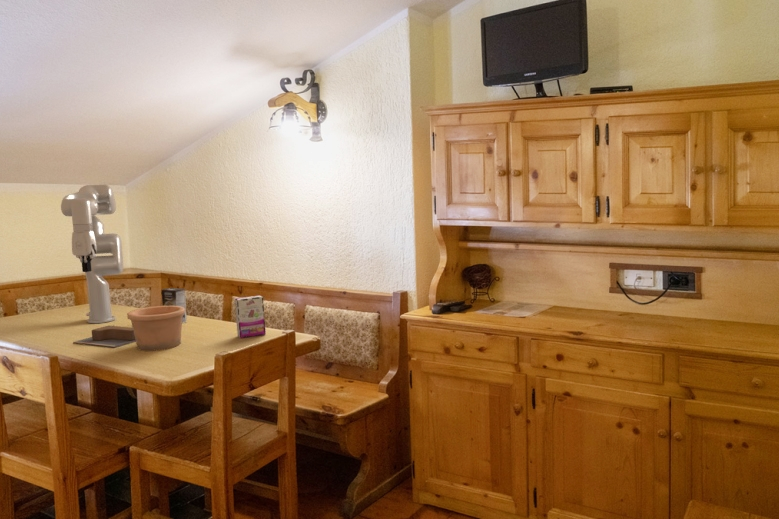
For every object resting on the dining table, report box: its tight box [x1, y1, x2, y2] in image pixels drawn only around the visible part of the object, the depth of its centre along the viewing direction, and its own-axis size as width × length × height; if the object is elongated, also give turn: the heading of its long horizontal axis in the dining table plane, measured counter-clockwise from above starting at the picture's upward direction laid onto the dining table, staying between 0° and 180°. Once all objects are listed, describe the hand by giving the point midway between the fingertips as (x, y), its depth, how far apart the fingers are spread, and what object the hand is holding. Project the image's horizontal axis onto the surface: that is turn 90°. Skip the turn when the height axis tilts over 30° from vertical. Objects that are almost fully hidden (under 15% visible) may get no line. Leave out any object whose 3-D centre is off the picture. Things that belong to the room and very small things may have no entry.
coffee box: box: [161, 287, 188, 324], centre depth 301 cm, size 9×6×16 cm
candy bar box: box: [234, 295, 266, 339], centre depth 270 cm, size 11×5×16 cm, turn 118°
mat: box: [72, 336, 136, 349], centre depth 270 cm, size 24×18×1 cm
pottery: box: [126, 305, 185, 352], centre depth 258 cm, size 22×22×14 cm
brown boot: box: [91, 325, 135, 341], centre depth 269 cm, size 9×4×18 cm
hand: (87, 271), depth 272 cm, fingers closed
